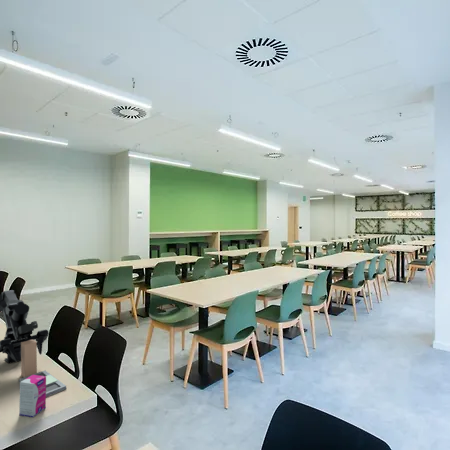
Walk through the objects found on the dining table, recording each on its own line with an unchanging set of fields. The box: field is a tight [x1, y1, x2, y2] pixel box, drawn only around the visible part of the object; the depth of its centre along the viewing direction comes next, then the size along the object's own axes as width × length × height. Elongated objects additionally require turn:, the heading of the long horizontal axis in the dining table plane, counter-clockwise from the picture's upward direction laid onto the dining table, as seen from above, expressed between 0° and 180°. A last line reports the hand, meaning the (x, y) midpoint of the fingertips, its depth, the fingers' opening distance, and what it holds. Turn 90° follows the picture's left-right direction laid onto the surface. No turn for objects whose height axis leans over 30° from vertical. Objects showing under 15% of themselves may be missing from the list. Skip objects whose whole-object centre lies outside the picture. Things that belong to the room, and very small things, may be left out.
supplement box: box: [18, 375, 47, 418], centre depth 109 cm, size 6×6×12 cm
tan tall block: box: [20, 339, 38, 378], centre depth 136 cm, size 4×4×14 cm
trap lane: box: [18, 369, 67, 398], centre depth 127 cm, size 20×10×1 cm, turn 50°
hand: (29, 357), depth 136 cm, fingers open, 9 cm apart
